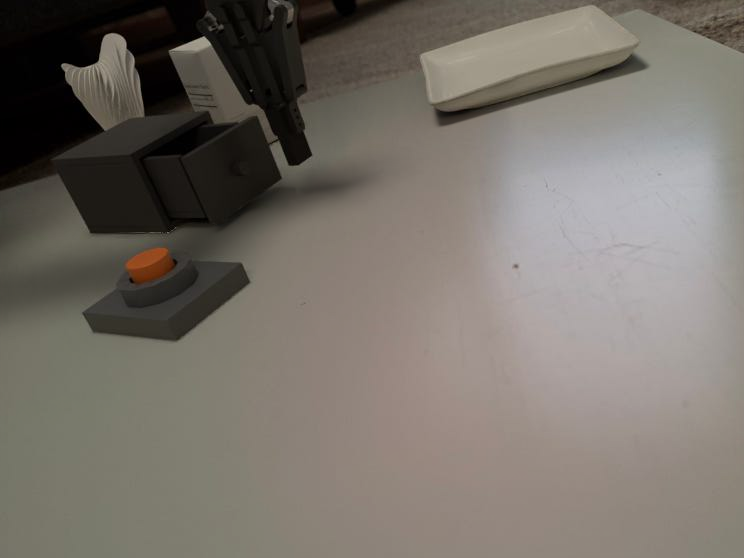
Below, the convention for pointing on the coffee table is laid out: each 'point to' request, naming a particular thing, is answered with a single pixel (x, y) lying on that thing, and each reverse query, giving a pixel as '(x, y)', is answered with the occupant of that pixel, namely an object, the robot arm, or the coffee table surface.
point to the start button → (150, 265)
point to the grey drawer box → (123, 174)
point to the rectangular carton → (213, 86)
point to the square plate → (524, 58)
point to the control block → (167, 299)
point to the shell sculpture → (108, 84)
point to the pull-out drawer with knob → (212, 170)
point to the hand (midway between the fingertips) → (300, 160)
